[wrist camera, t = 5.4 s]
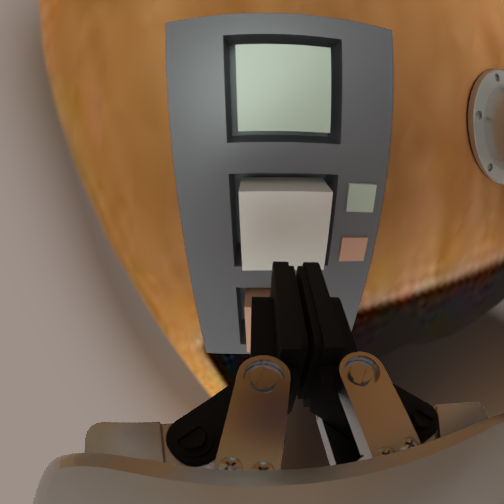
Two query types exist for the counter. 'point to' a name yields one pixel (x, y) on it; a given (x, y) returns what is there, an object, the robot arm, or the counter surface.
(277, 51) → the sage key
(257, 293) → the terracotta key
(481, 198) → the counter surface
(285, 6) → the counter surface
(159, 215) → the counter surface
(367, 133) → the keyguard board
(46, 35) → the counter surface
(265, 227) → the white key
